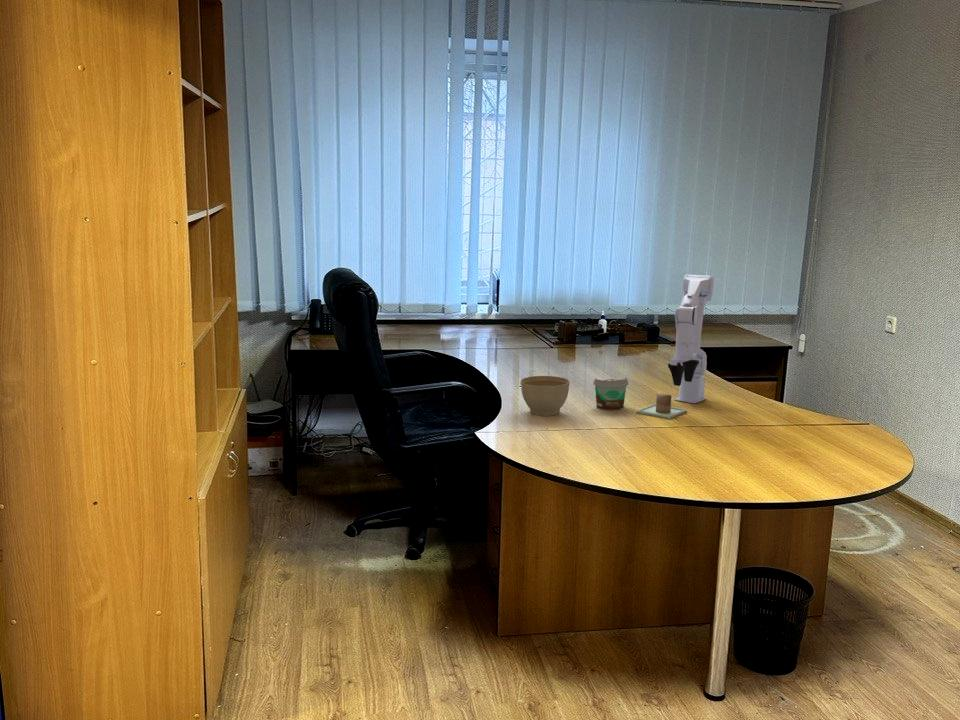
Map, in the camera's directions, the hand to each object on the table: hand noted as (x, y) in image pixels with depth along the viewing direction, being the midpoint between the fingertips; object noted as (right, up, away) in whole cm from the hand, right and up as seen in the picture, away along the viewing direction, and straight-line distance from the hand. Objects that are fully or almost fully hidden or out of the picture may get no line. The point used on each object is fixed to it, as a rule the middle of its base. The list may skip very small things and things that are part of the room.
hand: (682, 383), depth 292 cm
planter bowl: (-46, -10, -1) cm, 47 cm away
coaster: (-7, -10, +1) cm, 12 cm away
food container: (-22, -9, +6) cm, 24 cm away
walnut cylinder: (-6, -9, 0) cm, 11 cm away
